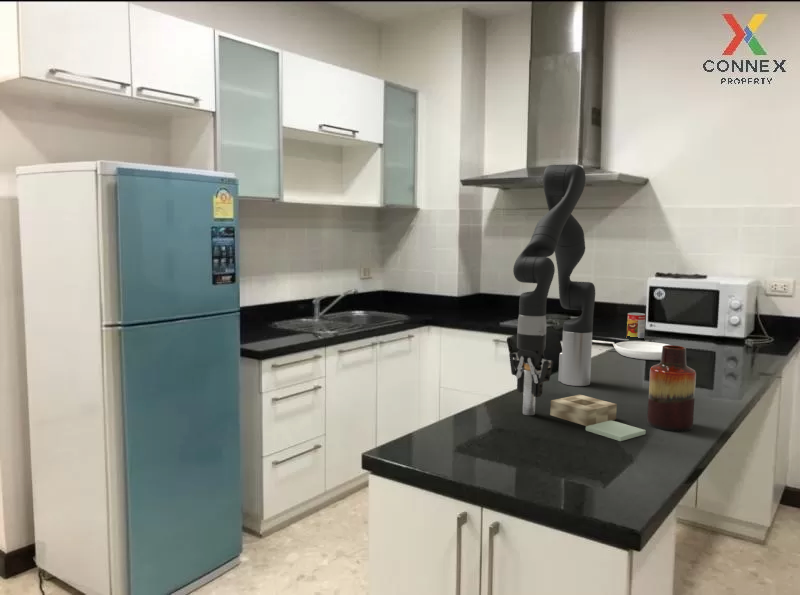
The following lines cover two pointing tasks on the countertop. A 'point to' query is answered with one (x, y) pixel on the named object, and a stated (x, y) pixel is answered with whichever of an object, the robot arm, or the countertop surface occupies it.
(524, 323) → the robot arm
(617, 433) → the pad
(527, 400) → the flashlight
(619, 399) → the countertop surface
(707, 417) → the countertop surface
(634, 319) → the canned food
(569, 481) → the countertop surface
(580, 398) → the block
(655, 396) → the vase
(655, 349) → the pan
